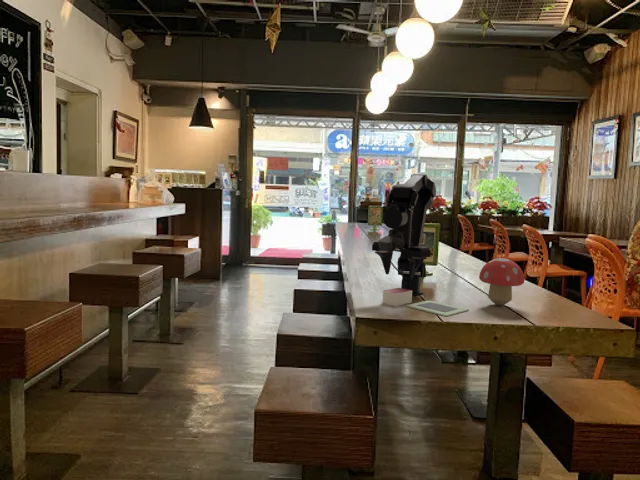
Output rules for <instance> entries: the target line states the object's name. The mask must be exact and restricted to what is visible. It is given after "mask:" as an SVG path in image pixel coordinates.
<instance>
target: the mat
mask: <svg viewBox="0 0 640 480" xmlns="http://www.w3.org/2000/svg"><path fill="white" fill-rule="evenodd" d="M405 305H406V307H407V308H410V309H411V308H412V309H415V310H419V311H422V312H427V313H432V314H435V315H439V316H443V317H449V316H454V315H458V314H461V313H465V312H468V311H469V310H470V309H469V308H465V307H461V306H456V305H451V304H447V303H443V302H438V301H434V300H423V301H420V302H415V303H411V304H410V303H409V304H405Z"/></svg>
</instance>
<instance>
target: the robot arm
mask: <svg viewBox="0 0 640 480" xmlns="http://www.w3.org/2000/svg"><path fill="white" fill-rule="evenodd" d="M436 195H437V188H436V185H435V182H434V181H432V180H431V179H430V178H429V177H428V175H427V174H424V173H413V174H411V175H410V177H409V179H406V181H405V182H404V183H401V184H400V183H399V184H395V185H393V186H392V188H391V189H390V191H389V195H388V199H387V202H386V208H390V209H388V210H386V211H385V213H384V215H383V218H382V220H383V223H384V225H385V226H386V227H387V228H389V230H388V235H385V236H384V237H382V238H380V239H378V240H377V241H374V242H373V243H372V246H371V251H374V253H375V254H377V255H378V256H379V258H380V260H381V263H382V265H383V269H384V273H385V275H389V274H390V271H391V266H392V261H393V254H394V252H396V253H397V252H399V253H400V255H399V257H398V259H397V262H396V263H397V275H398V276H401V287H400V288H403V289H408V290H412V297H413V296H417V295H422V294H424V291H421V280H422V279H421V278H426V277H427V266H426V265H427V264H426V263H425V260H427V258H429V257H431V255H432V252H431V248H429V247H428V246H422V241H423V234H424V230H425V225H426V224H425V223H426V217H427V212H428V210H429V208H430V207H431V206H432V205H433V204H434V199H435V198H436Z"/></svg>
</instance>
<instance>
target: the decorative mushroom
mask: <svg viewBox="0 0 640 480" xmlns="http://www.w3.org/2000/svg"><path fill="white" fill-rule="evenodd" d="M478 278H479V280H480V281H481V282H482V283H484V284H488V285H489V288H488V294H487V298H488V299H489V300H490V301H491V302H492V303H493V304H494V305H496V306H504V305H507V304H508V303H510V302H511V301H512V300H513V290H512V289H513V288H512V287H520V286H522V285H524V283H525V275H524V272H523V269H521V267H520V266H519V265H518V264H517V263H516V262H515V261H513V260H511V259H510V258H509V259H508V258H503V257H499V258H494V259H492V260H490V261H488V262H487V263H485V264H484V265H483V266H482V268H481V269H480V272H479V277H478Z"/></svg>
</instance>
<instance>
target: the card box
mask: <svg viewBox="0 0 640 480" xmlns="http://www.w3.org/2000/svg"><path fill="white" fill-rule="evenodd" d="M382 293H383V294H382V303H383V304H387V305H391V306H395V307H396V306H397V307H398V306H402V305H408V304H410V303H411V304H413V300H412V299H413V296H412V290H408V289H403V288H401V287H395V288H389V289H384V290H383V291H382Z"/></svg>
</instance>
